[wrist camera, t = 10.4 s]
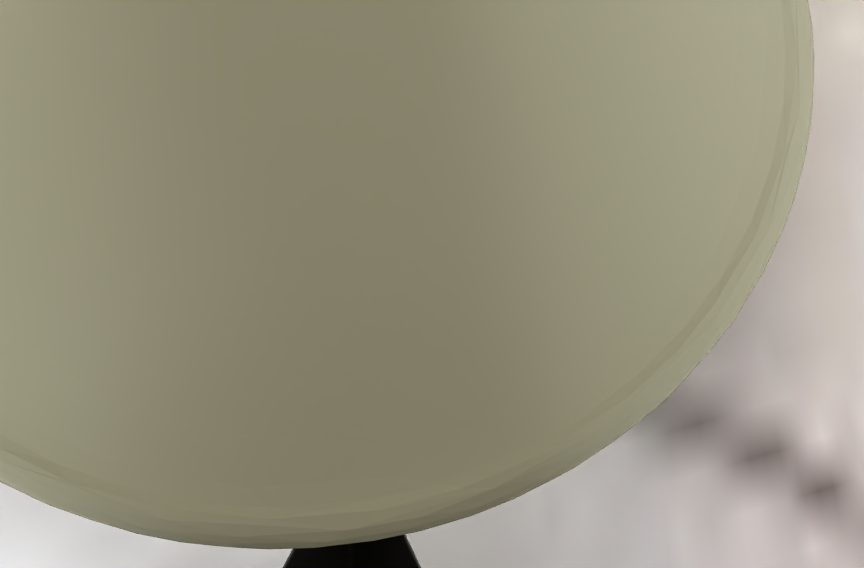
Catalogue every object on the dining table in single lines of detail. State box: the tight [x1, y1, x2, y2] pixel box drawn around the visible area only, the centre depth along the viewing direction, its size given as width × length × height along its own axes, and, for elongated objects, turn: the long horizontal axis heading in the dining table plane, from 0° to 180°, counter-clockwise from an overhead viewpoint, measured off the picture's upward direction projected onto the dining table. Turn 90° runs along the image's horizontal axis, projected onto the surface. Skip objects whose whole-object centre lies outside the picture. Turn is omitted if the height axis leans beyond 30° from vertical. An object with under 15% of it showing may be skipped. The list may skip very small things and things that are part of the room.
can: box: [0, 0, 814, 549], centre depth 11 cm, size 9×9×12 cm
